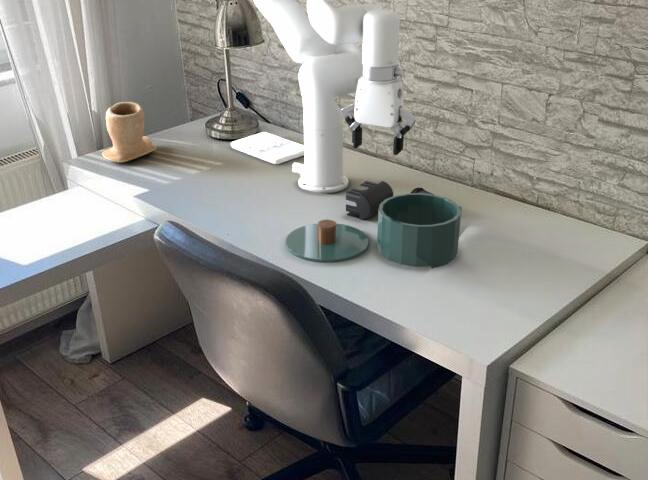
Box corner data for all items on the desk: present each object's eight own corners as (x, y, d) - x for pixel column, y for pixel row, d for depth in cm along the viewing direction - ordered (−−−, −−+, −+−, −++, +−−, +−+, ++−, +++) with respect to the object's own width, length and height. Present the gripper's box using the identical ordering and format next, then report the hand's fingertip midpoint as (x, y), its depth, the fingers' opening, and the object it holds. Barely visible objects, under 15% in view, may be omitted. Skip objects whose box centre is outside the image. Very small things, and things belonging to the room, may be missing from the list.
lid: (269, 253, 168) (268, 231, 165) (310, 221, 181) (310, 200, 179) (344, 272, 160) (345, 249, 158) (381, 237, 174) (382, 216, 171)
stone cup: (123, 169, 211) (115, 114, 203) (97, 159, 218) (88, 105, 210) (168, 154, 220) (162, 101, 213) (141, 145, 227) (135, 93, 220)
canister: (363, 258, 166) (365, 216, 161) (396, 227, 178) (398, 187, 174) (439, 276, 159) (443, 233, 154) (468, 242, 171) (472, 202, 166)
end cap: (370, 225, 179) (371, 197, 176) (344, 217, 183) (344, 190, 180) (393, 210, 186) (394, 183, 183) (367, 203, 190) (368, 176, 187)
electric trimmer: (452, 221, 181) (453, 208, 180) (407, 199, 192) (407, 186, 190) (464, 217, 183) (465, 204, 182) (418, 195, 194) (419, 183, 192)
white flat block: (265, 136, 233) (264, 130, 232) (312, 153, 220) (312, 146, 219) (229, 147, 225) (229, 141, 224) (276, 165, 212) (275, 158, 211)
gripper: (424, 72, 167) (419, 150, 176) (350, 64, 174) (349, 139, 183) (411, 81, 161) (406, 161, 170) (335, 71, 169) (334, 149, 177)
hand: (377, 149), depth 177 cm, fingers open, 9 cm apart
